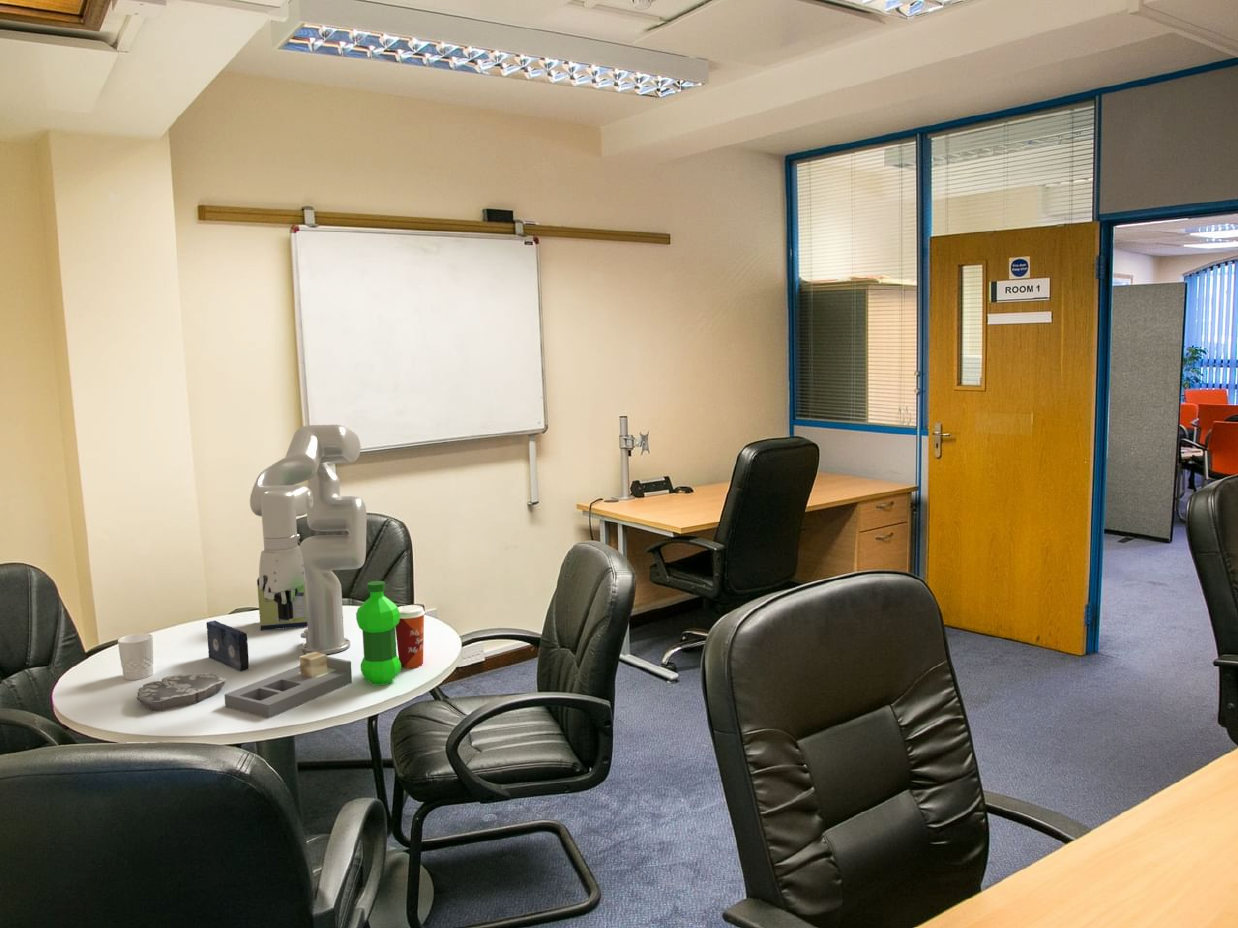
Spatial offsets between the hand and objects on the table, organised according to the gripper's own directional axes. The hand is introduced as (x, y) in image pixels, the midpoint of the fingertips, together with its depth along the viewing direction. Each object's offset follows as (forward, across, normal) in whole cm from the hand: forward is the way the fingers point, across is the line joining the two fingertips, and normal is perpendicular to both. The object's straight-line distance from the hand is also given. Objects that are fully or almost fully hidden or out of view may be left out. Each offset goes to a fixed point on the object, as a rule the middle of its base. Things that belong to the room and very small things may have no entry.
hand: (286, 618), depth 220 cm
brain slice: (+19, +14, -23) cm, 33 cm away
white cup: (+19, +9, -46) cm, 51 cm away
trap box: (+19, 0, 0) cm, 19 cm away
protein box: (+20, -41, -48) cm, 66 cm away
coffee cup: (+19, -29, +12) cm, 37 cm away
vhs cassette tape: (+19, -8, -33) cm, 39 cm away
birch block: (+16, -7, +1) cm, 17 cm away
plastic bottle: (+19, -16, +14) cm, 28 cm away
